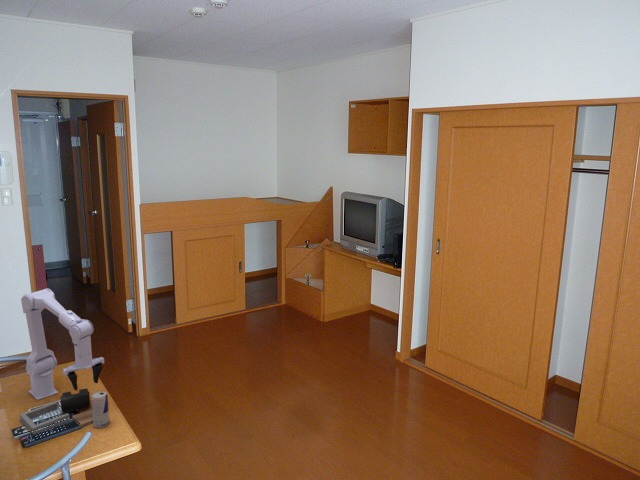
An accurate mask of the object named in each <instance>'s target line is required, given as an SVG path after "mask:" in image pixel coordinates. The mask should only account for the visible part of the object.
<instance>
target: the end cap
mask: <svg viewBox="0 0 640 480" xmlns="http://www.w3.org/2000/svg"><path fill="white" fill-rule="evenodd" d="M90 395H91V394H90V391H89V389H88V388H82V389H81V388H80V389H78V393H72V391H65V392H62V394H61V395H60V396H59V397H60V409H61V412H62V413H64V414H65V413H70V412H73V411H78V410H83V409H90V407H91V396H90Z"/></svg>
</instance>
